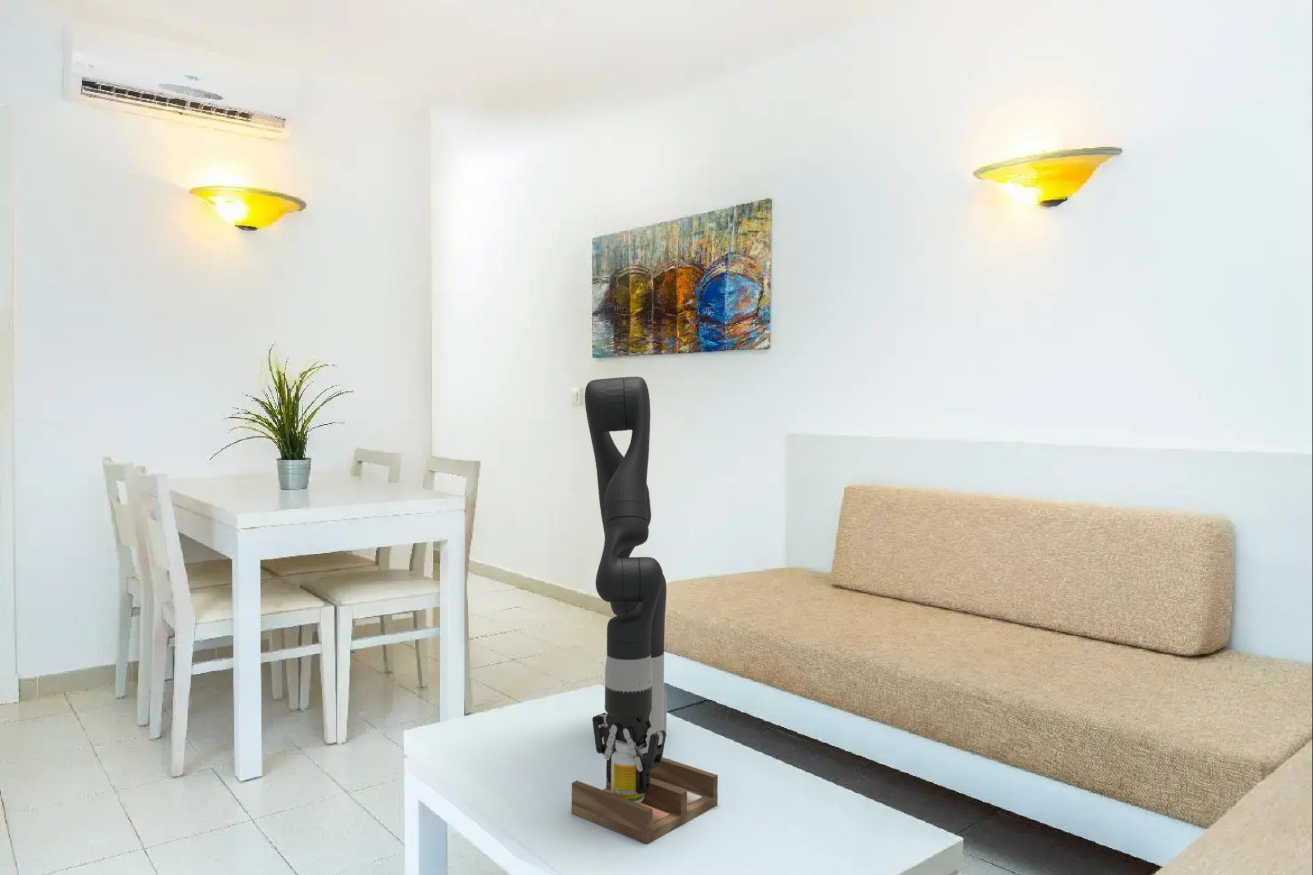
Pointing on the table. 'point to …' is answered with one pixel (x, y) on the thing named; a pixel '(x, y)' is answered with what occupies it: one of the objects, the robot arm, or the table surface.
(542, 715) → the table surface
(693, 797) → the brown shelf rack
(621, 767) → the supplement bottle
